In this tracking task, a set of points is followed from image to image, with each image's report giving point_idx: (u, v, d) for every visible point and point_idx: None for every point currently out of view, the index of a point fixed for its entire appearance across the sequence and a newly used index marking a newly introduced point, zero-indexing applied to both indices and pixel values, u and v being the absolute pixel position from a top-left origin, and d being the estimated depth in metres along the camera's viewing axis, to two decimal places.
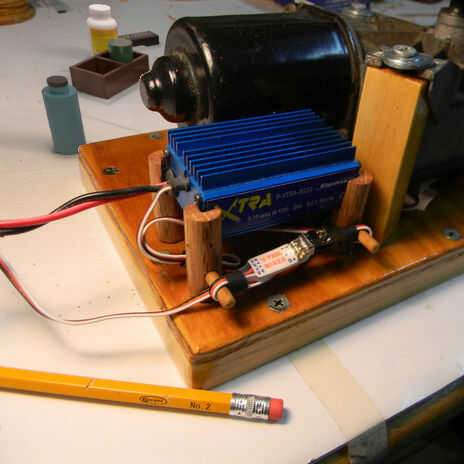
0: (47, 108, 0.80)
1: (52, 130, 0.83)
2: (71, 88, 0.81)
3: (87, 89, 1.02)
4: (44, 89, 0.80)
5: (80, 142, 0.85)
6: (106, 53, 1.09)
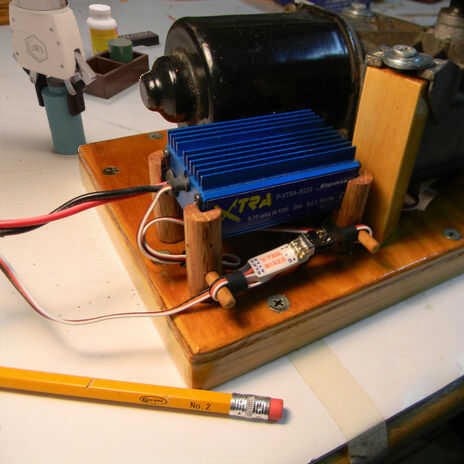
0: (47, 108, 0.80)
1: (52, 130, 0.83)
2: None
3: (87, 89, 1.02)
4: (44, 89, 0.80)
5: (80, 142, 0.85)
6: (106, 53, 1.09)
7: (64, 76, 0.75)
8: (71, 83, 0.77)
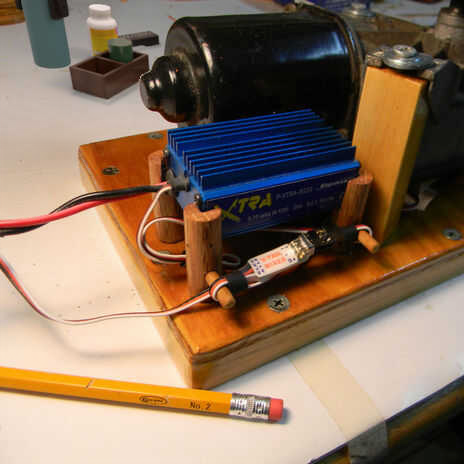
0: (25, 9, 0.71)
1: (31, 38, 0.73)
2: None
3: (87, 89, 1.02)
4: None
5: (62, 54, 0.76)
6: (106, 53, 1.09)
7: None
8: None
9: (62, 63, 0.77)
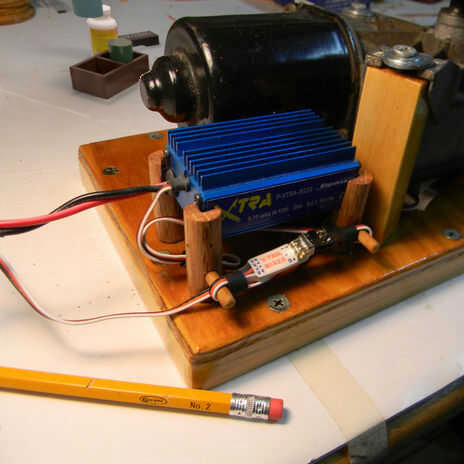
0: None
1: None
2: None
3: (87, 89, 1.02)
4: None
5: (97, 5, 0.92)
6: (106, 53, 1.09)
7: None
8: None
9: (97, 13, 0.92)
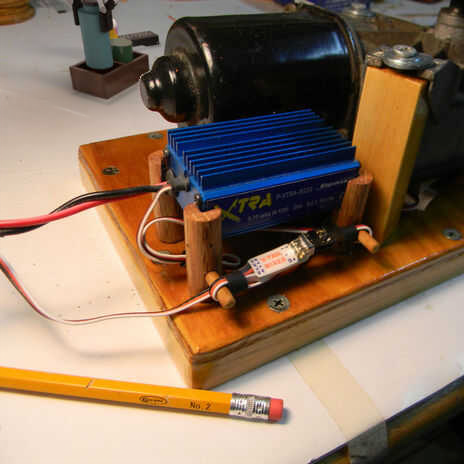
0: (82, 25, 0.95)
1: (85, 46, 0.98)
2: None
3: (87, 89, 1.02)
4: (79, 9, 0.95)
5: (108, 58, 1.00)
6: None
7: None
8: (103, 2, 0.92)
9: (107, 64, 1.01)
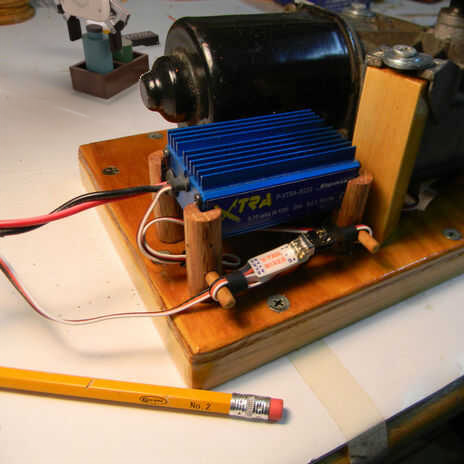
0: (86, 50, 0.98)
1: (89, 70, 1.01)
2: (105, 35, 1.00)
3: (87, 89, 1.02)
4: (83, 35, 0.98)
5: None
6: None
7: (101, 19, 0.93)
8: (110, 23, 0.94)
9: None
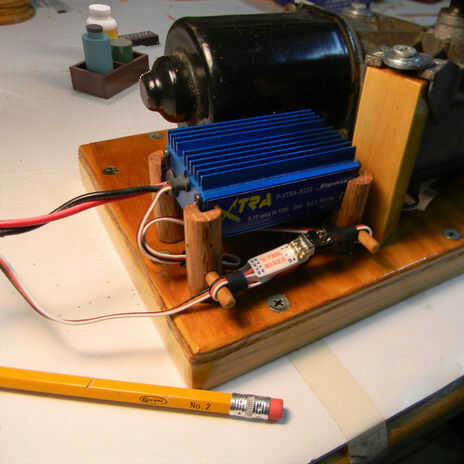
0: (86, 50, 0.98)
1: (89, 70, 1.01)
2: (105, 35, 1.00)
3: (87, 89, 1.02)
4: (83, 35, 0.98)
5: None
6: None
7: None
8: None
9: None
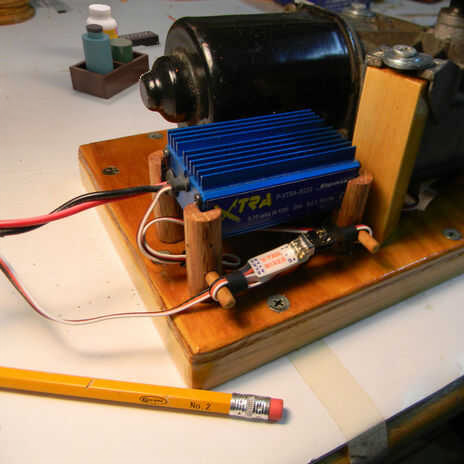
0: (86, 50, 0.98)
1: (89, 70, 1.01)
2: (105, 35, 1.00)
3: (87, 89, 1.02)
4: (83, 35, 0.98)
5: None
6: None
7: None
8: None
9: None
